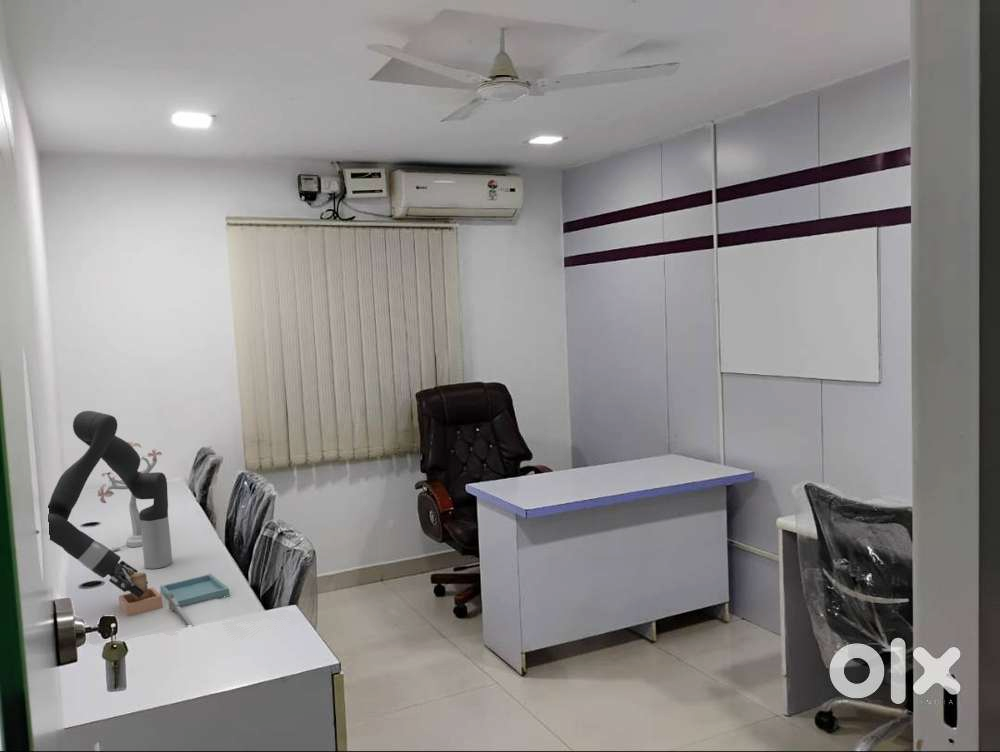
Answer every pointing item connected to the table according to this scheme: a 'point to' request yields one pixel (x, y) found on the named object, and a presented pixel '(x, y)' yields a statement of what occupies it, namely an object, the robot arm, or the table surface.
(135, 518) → the decorative lamp
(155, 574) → the table surface
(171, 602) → the caliper
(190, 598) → the tray
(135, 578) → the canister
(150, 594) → the peach open box
